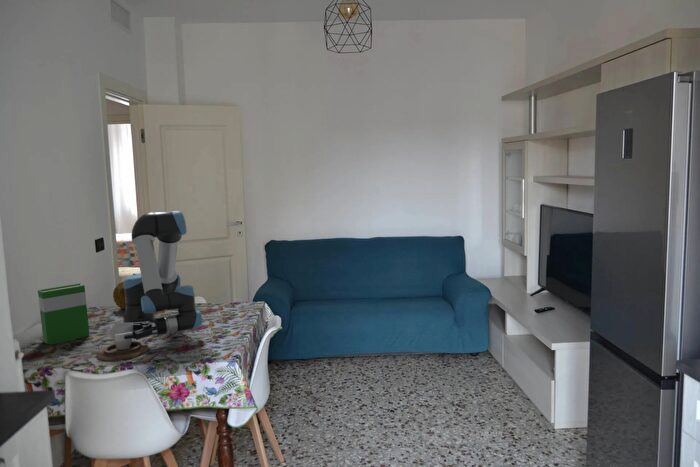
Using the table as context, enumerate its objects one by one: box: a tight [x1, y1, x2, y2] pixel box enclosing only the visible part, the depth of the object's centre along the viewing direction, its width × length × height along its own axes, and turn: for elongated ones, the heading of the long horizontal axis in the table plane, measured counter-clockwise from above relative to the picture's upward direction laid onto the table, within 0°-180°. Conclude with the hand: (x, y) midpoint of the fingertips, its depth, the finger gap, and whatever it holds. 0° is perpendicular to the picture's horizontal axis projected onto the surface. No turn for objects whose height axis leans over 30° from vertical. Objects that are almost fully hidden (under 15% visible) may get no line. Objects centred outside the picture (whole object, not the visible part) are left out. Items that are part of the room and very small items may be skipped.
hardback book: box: [37, 283, 91, 345], centre depth 250 cm, size 18×7×24 cm, turn 133°
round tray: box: [96, 340, 149, 362], centre depth 229 cm, size 20×20×2 cm
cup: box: [111, 322, 134, 350], centre depth 231 cm, size 8×8×10 cm
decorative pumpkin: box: [112, 273, 136, 310], centre depth 303 cm, size 20×21×20 cm
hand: (112, 334), depth 226 cm, fingers open, 13 cm apart
